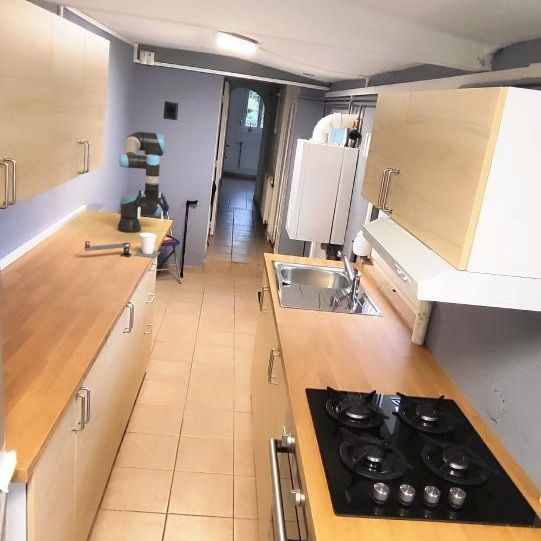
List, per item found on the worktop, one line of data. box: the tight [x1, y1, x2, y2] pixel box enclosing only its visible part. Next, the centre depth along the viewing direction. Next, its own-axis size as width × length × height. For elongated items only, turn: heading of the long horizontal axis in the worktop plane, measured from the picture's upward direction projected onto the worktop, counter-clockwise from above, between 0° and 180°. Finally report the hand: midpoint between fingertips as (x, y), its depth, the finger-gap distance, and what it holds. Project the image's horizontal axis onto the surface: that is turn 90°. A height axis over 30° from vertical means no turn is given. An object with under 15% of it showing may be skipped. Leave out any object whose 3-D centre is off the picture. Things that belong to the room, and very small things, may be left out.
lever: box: [84, 240, 132, 252], centre depth 299 cm, size 4×26×5 cm, turn 130°
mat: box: [133, 248, 161, 259], centre depth 315 cm, size 12×12×1 cm
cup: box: [139, 232, 158, 255], centre depth 313 cm, size 10×10×11 cm
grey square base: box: [119, 248, 133, 258], centre depth 307 cm, size 5×5×5 cm
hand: (150, 219), depth 313 cm, fingers open, 13 cm apart
